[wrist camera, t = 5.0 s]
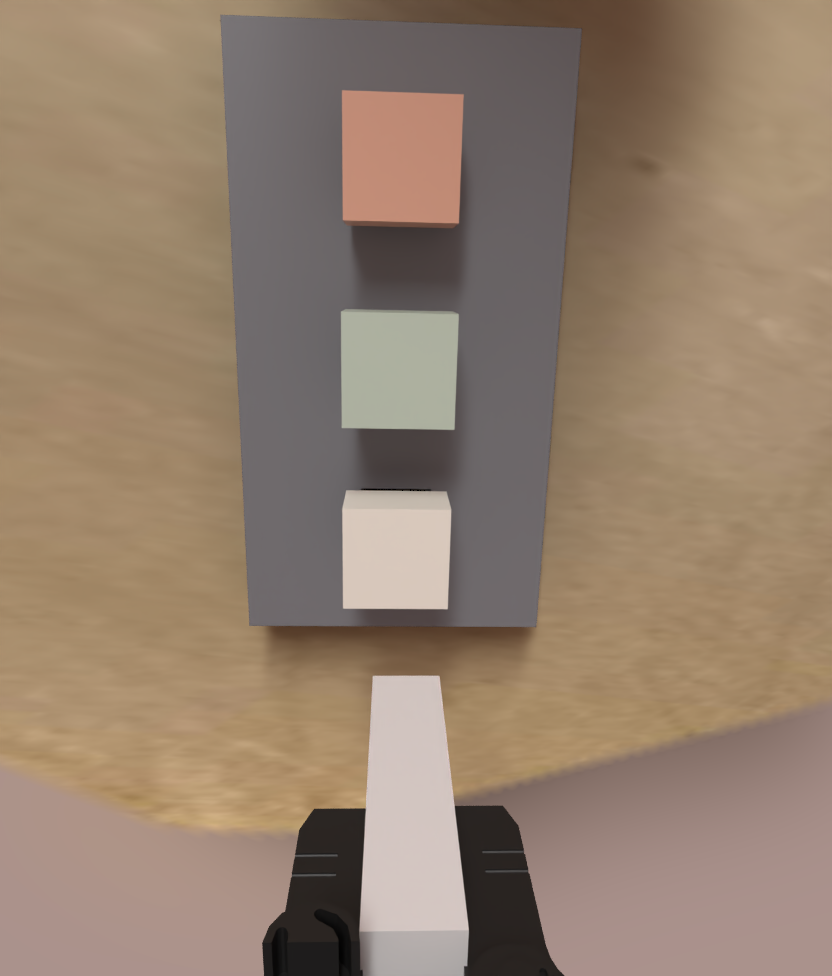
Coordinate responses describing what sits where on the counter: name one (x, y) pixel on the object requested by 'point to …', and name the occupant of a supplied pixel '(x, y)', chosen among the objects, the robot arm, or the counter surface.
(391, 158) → the key terracotta
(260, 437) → the console
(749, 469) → the counter surface
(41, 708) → the counter surface
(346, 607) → the key ivory
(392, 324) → the key sage
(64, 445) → the counter surface
